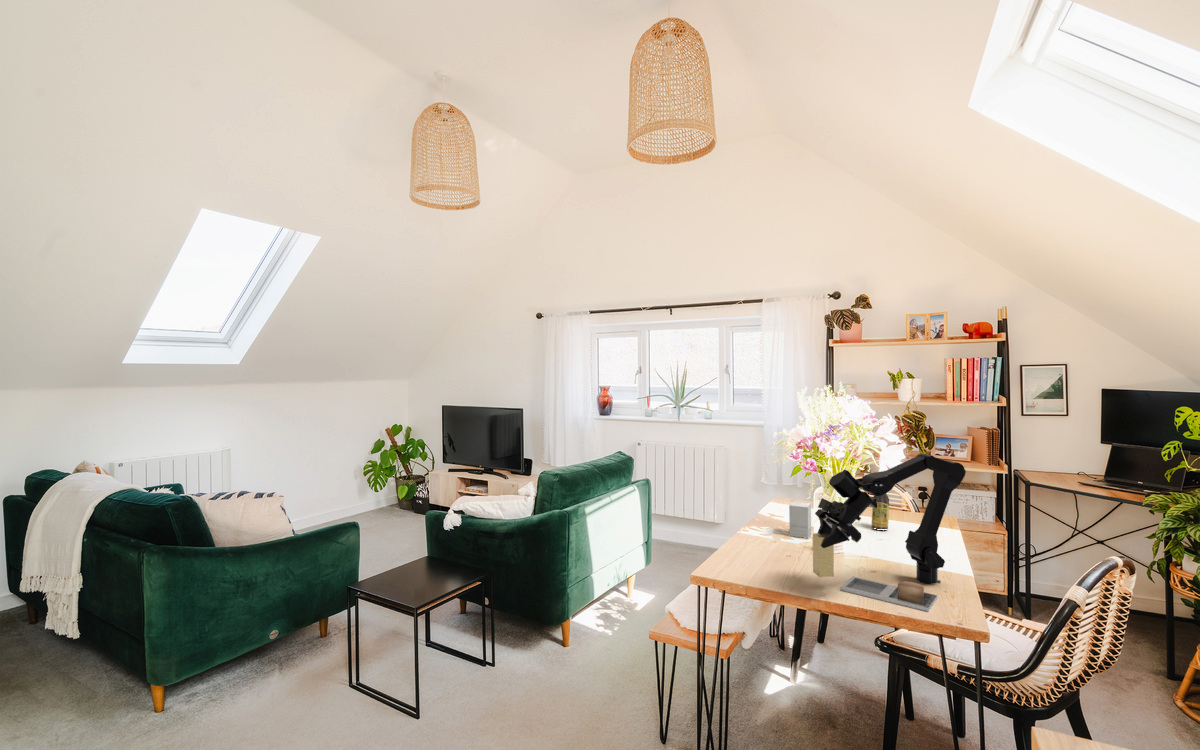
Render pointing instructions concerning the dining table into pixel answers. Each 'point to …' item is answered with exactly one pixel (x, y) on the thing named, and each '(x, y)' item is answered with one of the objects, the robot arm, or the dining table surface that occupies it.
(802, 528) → the supplement box
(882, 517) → the sauce bottle
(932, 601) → the tray
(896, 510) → the dining table surface
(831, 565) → the block
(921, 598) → the walnut puck
